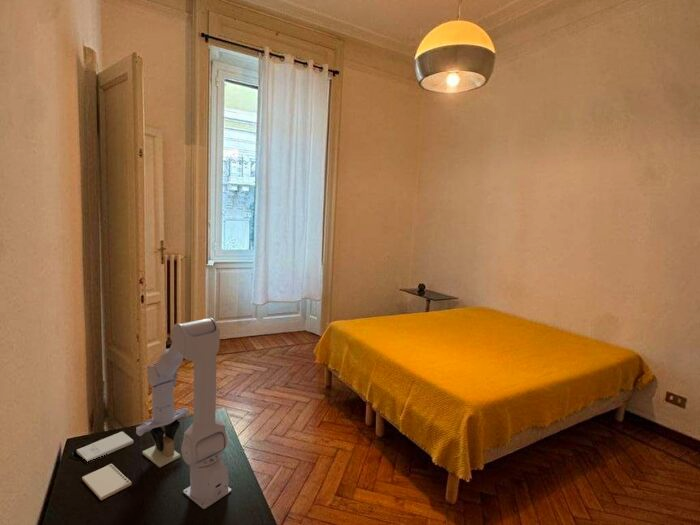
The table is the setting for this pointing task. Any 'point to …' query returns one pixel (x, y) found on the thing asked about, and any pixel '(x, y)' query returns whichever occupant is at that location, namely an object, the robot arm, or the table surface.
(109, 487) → the board
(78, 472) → the table surface
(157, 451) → the stub
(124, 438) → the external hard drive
